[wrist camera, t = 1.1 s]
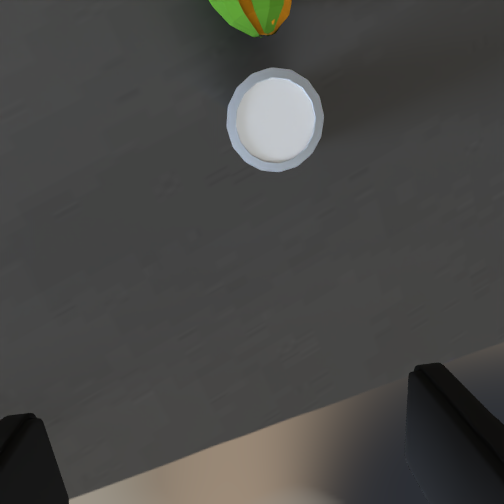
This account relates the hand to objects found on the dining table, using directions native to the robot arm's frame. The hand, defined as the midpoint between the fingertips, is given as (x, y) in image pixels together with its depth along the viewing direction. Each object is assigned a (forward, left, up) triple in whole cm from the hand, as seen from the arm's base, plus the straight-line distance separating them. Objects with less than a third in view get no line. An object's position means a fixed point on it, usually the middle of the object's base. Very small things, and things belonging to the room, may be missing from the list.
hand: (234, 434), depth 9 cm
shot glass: (-3, +9, -26) cm, 27 cm away
